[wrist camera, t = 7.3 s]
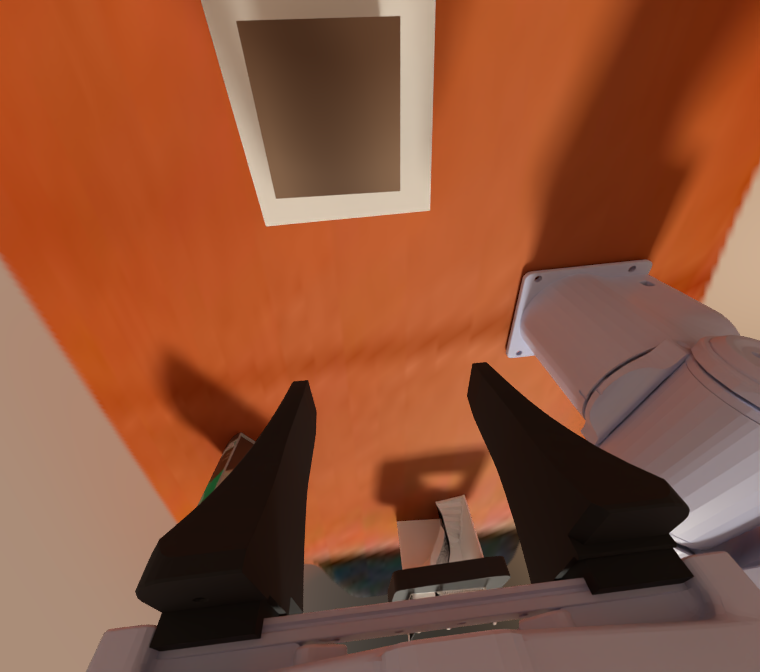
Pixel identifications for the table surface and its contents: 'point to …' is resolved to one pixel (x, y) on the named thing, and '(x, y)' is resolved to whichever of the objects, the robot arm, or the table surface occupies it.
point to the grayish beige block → (327, 102)
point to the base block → (417, 38)
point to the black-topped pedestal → (444, 557)
